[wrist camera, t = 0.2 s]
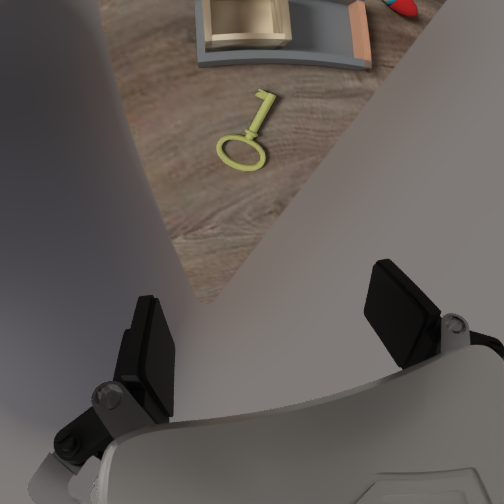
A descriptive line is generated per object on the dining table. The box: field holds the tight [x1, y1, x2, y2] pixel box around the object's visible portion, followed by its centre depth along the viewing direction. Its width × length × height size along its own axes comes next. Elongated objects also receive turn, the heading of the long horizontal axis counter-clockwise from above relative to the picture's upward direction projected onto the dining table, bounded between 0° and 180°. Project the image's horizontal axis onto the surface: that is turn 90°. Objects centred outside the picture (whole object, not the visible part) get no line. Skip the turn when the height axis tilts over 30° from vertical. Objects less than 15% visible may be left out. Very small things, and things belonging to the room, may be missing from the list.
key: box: [217, 89, 276, 171], centre depth 35 cm, size 7×12×2 cm, turn 172°
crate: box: [202, 0, 292, 53], centre depth 24 cm, size 10×9×6 cm
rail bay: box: [195, 0, 372, 71], centre depth 27 cm, size 24×13×4 cm, turn 94°
